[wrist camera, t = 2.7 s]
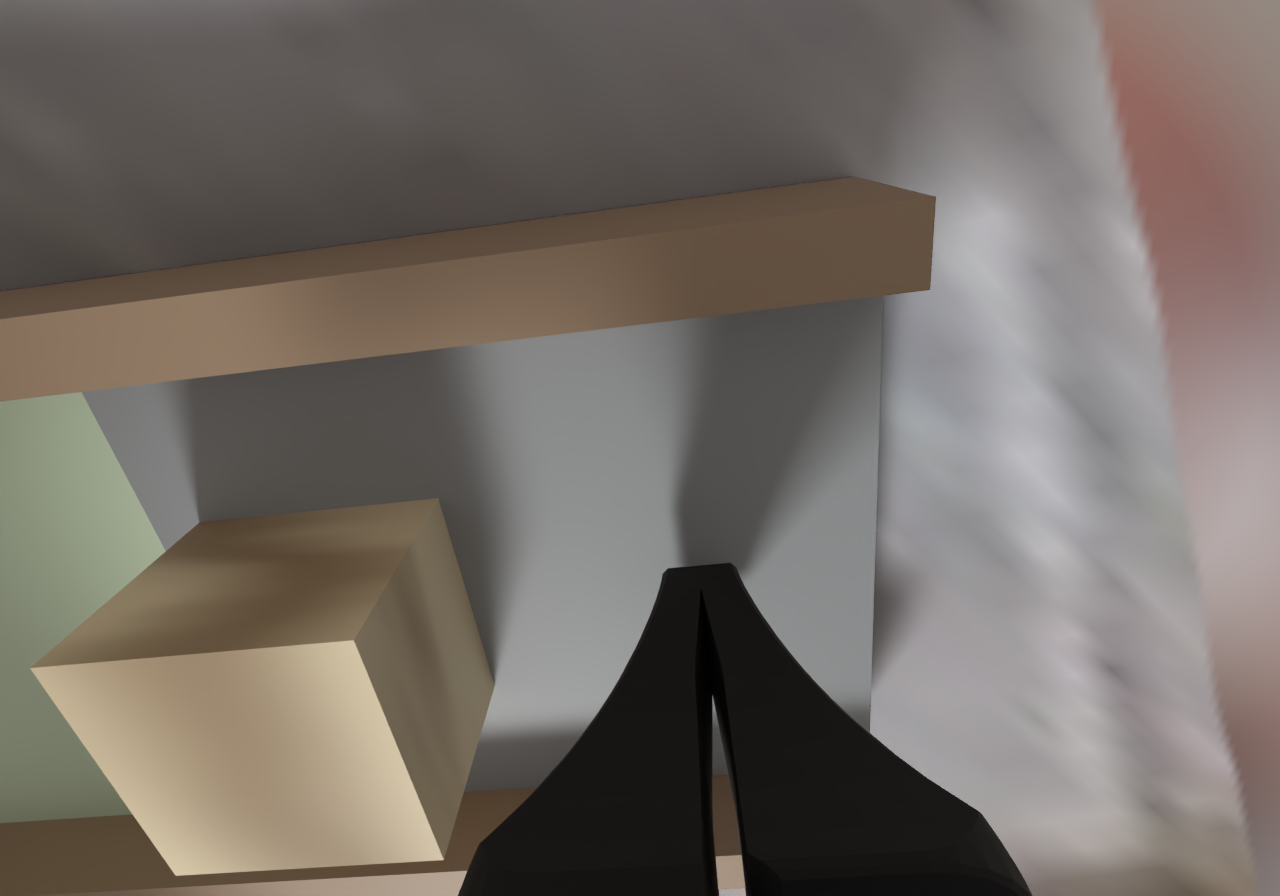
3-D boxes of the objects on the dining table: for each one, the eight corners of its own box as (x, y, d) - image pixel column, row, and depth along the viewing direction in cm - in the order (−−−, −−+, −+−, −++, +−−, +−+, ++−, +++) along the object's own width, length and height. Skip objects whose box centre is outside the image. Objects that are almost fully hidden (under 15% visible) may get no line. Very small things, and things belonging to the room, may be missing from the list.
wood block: (287, 702, 15) (175, 875, 12) (199, 522, 13) (29, 668, 10) (494, 685, 15) (443, 860, 11) (438, 498, 13) (353, 640, 9)
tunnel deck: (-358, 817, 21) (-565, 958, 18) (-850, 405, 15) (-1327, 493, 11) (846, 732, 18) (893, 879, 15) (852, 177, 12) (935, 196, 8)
